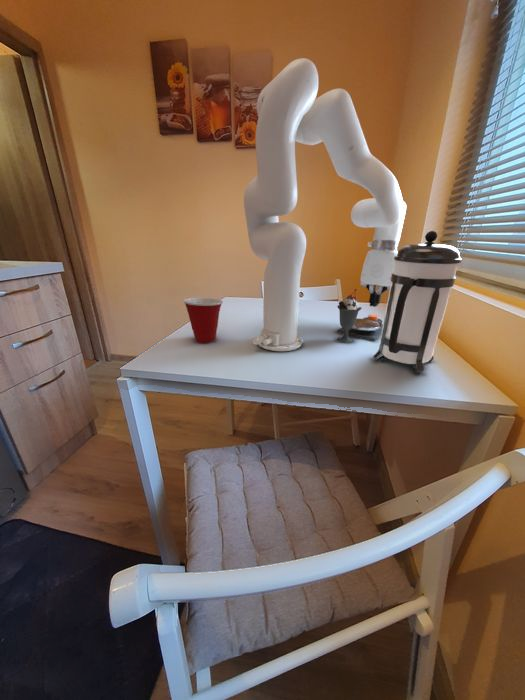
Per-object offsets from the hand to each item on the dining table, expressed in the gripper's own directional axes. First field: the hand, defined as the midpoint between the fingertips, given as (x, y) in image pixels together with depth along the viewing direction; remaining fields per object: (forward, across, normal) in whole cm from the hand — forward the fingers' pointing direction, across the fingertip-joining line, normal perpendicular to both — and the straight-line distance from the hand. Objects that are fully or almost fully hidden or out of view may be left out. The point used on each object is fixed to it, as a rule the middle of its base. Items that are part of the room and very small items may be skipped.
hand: (373, 305), depth 92 cm
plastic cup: (+9, -32, -45) cm, 56 cm away
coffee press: (+8, +17, -23) cm, 29 cm away
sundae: (+8, -1, -18) cm, 20 cm away
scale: (+8, 0, -5) cm, 9 cm away
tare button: (+5, 0, +1) cm, 5 cm away
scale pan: (+5, 0, -8) cm, 9 cm away
